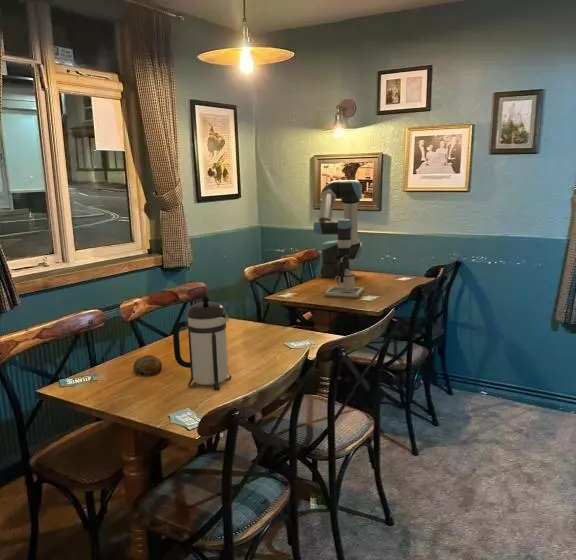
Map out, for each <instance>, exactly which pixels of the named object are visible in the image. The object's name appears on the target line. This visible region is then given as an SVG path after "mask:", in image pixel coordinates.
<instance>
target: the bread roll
mask: <svg viewBox="0 0 576 560" xmlns="http://www.w3.org/2000/svg"><path fill="white" fill-rule="evenodd" d="M132 369H133V373H134V374H135V376H137V377H142V376H143V377H144V376H145V377H154V376H157V375H158V374H160V373H161V371H162V369H163V368H162V361H161V360H160V359H159V358H158V357H156V356H155V355H151V354H146V355H144V356H141V357H139V358H137V359H135V361H134V362H133V368H132Z"/></svg>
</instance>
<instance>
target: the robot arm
mask: <svg viewBox="0 0 576 560" xmlns="http://www.w3.org/2000/svg"><path fill="white" fill-rule="evenodd" d="M362 193H363V192H362V185H361V182H360V181H359V180H357V179H354V180H353V179H348V180H346V179H345V180H339V179H338V180H332V181H330V182H328V183H327V184H326V185H325V186H324V187H323V189H322V190H321V193H320V200H321V201H320V207H319V215H318V220H317V221H314V222H313V233H314V234H315V235H321V236H322V235H324V236H325V235H337V239H336V240H328V241H325V242H322V244H321V267H320V269H319V277H323V278H335V277H336V276H338V277H337V278H339V277H340V288H345V277H344V274H345V269H349V271H351V268H350V267H351V266H350V261H353V262H354V261H359V260H360V259H361V257H362V248H363V243H362V242H361V240H360V239H359V237H358V236H359V234H358V233H359V232H358V228H359V227H358V204H359V202H361V201H360V200H362V198H363V194H362ZM336 200H340V202H341V203H342V204H343V218H341V219H338V220H337V221H335V220H334V221H332V217H333V211H334V210H333V209H334V202H335V201H336Z"/></svg>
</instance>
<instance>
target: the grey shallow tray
mask: <svg viewBox="0 0 576 560" xmlns="http://www.w3.org/2000/svg"><path fill="white" fill-rule="evenodd" d="M364 293H365V290H364V287H363V286H362V287H357V286H356V287H355V289H354V290H351V291H343V290H340V289H339V285H332V286H331V287H330V288H328V289H327V290H326V291H325V292H324V296H323V297H325V298H338V299H339V298H341V299H359V298H360V297H361V296H362V295H363V294H364ZM361 294H362V295H361Z"/></svg>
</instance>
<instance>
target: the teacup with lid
mask: <svg viewBox="0 0 576 560" xmlns="http://www.w3.org/2000/svg"><path fill="white" fill-rule="evenodd" d="M355 274H356V273H355V272H352V271H351V270H350V271H349V269H345V274H344V277H345V288H340V277H338V276H336V277H334V282H335V283H336V284H337V285H338V286H339V289H340V290H343V291H351V290H354V289H355V276H356V275H355Z"/></svg>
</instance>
